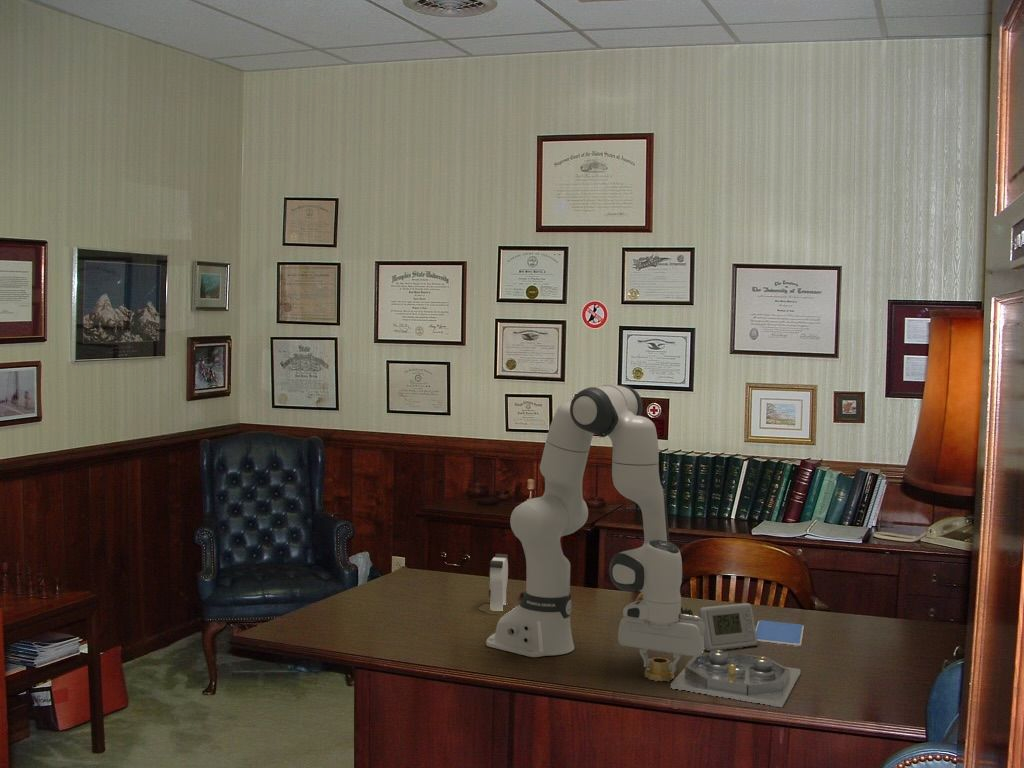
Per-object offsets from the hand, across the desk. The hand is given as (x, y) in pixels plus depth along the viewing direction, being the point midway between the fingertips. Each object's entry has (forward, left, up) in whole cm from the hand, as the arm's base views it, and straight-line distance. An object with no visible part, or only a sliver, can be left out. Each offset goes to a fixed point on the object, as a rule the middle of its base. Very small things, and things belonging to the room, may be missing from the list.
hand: (659, 669), depth 246 cm
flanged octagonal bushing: (0, 0, -2) cm, 2 cm away
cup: (-4, +31, -2) cm, 31 cm away
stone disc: (-14, +42, -2) cm, 44 cm away
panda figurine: (-58, +35, -2) cm, 68 cm away
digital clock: (+9, +32, -2) cm, 33 cm away
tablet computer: (+19, +50, -3) cm, 54 cm away
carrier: (+17, +6, -2) cm, 18 cm away
